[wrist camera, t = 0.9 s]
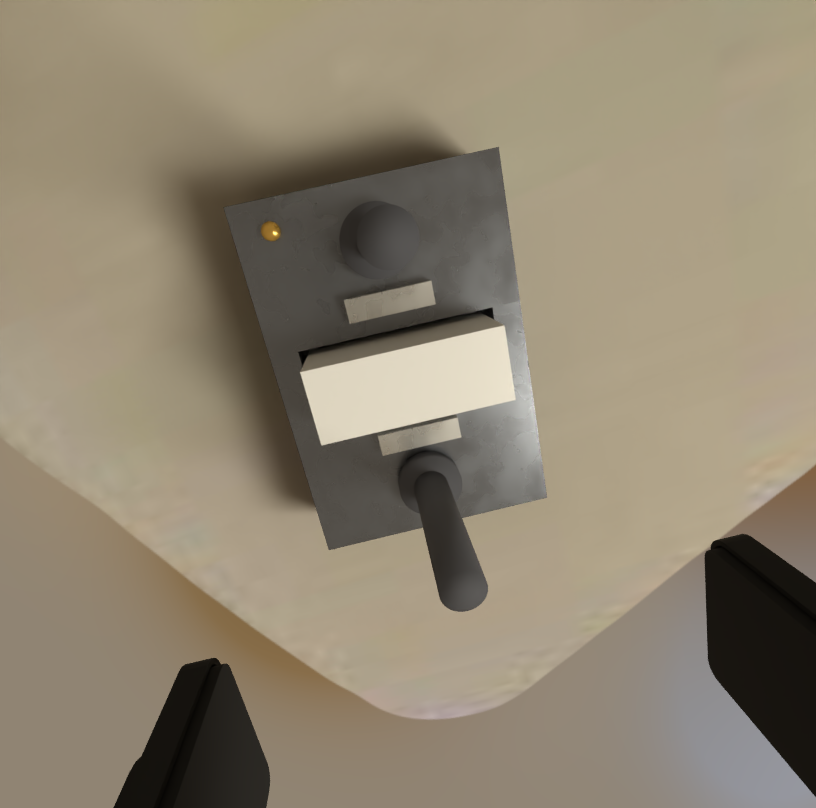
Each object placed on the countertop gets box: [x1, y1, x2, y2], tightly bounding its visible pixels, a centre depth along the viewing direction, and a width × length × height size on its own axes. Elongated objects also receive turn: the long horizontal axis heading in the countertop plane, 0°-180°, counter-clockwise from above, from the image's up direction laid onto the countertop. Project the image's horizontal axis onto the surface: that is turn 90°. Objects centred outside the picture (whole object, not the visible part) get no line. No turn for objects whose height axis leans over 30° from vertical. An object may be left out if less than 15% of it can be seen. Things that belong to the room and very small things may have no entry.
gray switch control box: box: [224, 147, 547, 550], centre depth 38 cm, size 26×18×7 cm
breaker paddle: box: [300, 311, 516, 445], centre depth 35 cm, size 5×13×7 cm, turn 102°
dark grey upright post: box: [339, 201, 420, 280], centre depth 27 cm, size 5×5×13 cm
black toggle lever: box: [398, 451, 488, 612], centre depth 32 cm, size 5×5×13 cm
